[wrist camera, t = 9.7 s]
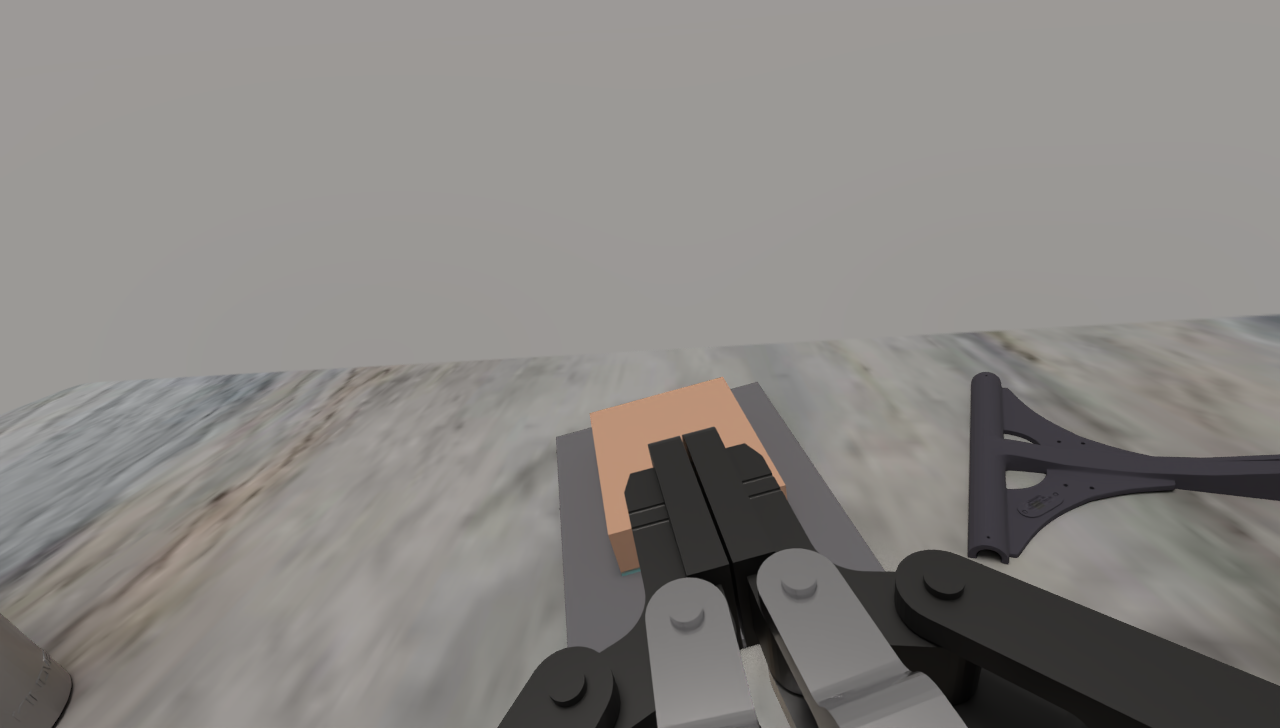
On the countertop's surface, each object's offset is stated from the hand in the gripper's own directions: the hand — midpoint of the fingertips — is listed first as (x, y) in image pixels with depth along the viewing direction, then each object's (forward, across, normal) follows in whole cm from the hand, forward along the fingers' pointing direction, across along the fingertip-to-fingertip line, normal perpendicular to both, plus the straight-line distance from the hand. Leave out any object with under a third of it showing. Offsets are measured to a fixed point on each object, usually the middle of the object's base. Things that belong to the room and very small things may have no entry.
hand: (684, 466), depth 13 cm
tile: (+11, -1, +14) cm, 18 cm away
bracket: (+8, -23, +16) cm, 29 cm away
